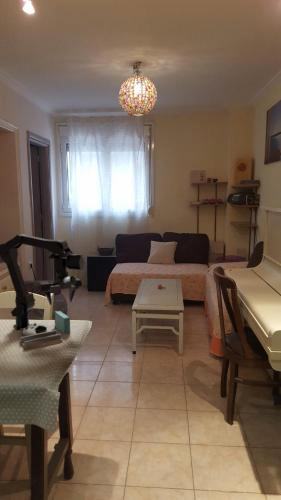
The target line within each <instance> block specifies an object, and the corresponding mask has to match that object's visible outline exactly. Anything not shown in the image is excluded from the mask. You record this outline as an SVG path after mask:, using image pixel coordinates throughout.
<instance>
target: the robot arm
mask: <svg viewBox="0 0 281 500" xmlns="http://www.w3.org/2000/svg"><path fill="white" fill-rule="evenodd" d="M23 245H26V246H30V247H36V248H40V249H44V250H46V251H48V252H50V253H51V254H50V255H49V256H48V257H47V258H48V259H51V260H52V259H53V260H52V264H53V268H52V269H53V270H52V273H53V279H52V282H51V283H49V282H48V281H40V282H38V283H37V289H38V290H39V291H40V292H42V293H44V295H45V297H46V299H47V301H48V304H49V306H52V302H53V301H52V291H51V289H52V288H60V289H61V290H67V289H68V300H69V302H70V303H72V301H73V298H74V296H75V293H76V292H77V290H78V289H80V288H81V287H83V281H82V280H81V279H80V278H78V277H76V276H75V275H71V276H69V272H68V270H75V271H83V270H84V268H85V260H84V257H83V254H81V253H79V254H77V253H75V254H74V253H73V251H72V249H71V248H70V246H69V244H68V242H67V240H65V239H58V238H57V239H46V238H43V237H39V236H32V235H28V234H25V233H21V234H16V235H15V236H14V237H12V238H10V239H9V240H8V241H6V242H5V243H1V244H0V259H1V260H2V262H4V263H5V265H6V267H7V271H8V274H9V277H10V279H11V282H12V286H13V289H14V292H15V300H14V302H15V303H14V304H15V307H14V308H13V309H12V310H11V311H10V313H11V316H12V317H15V324H13V327H14V328H15V329H16V331H18V330H19V331H20V330H23V329H24V328H25V327H27V326H28V325H31V324H30V321H29V319H30V318H29V313H30V312H32V309H33V308H34V307H35V306H36V305H35V304H36V299H35V297H34V293H33V292H29V291H28V290H27V288H26V284H25V281H24V277H23V274H22V272H21V269H20V268H21V267H20V266H19V261H18V256H19V251H18V249H20V248H21V247H22V246H23Z"/></svg>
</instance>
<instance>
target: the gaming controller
mask: <svg viewBox="0 0 281 500" xmlns="http://www.w3.org/2000/svg"><path fill="white" fill-rule="evenodd" d="M47 328H48V327H47V326H46V325H44V324H40V323H39V324H37V323H31V324H30V325H28V326H27V327H25V328H24V329H21V332H22V336H21V337H24V336H29V335H34V334H37V332H36V331H39V332H47V330H48V329H47Z"/></svg>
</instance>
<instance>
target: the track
mask: <svg viewBox="0 0 281 500" xmlns="http://www.w3.org/2000/svg"><path fill="white" fill-rule="evenodd" d="M19 339H20V340H19V341H18V342H19V344H20V345H21V346H22V347H23V348H24V350H25V349H26V350H25V351H29V349H30V350H33V349H38V348H42V347H46V346H52V345H56V344H60V343H63V342H64V340H63V338H62V333H58V334H57V330H56V329H54V330H49V331H42V332H40V333H39V332H38V333H36V334H34V335H29V336H21V337H20V338H19Z"/></svg>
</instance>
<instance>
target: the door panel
mask: <svg viewBox="0 0 281 500" xmlns="http://www.w3.org/2000/svg"><path fill="white" fill-rule="evenodd" d="M54 327H55V328H56V329H58V330H60V332H62V333H63V334H64V335H67V334H71V317H69V316H68V315H67V314H65V313H63V311H61V310H55V311H54Z"/></svg>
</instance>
